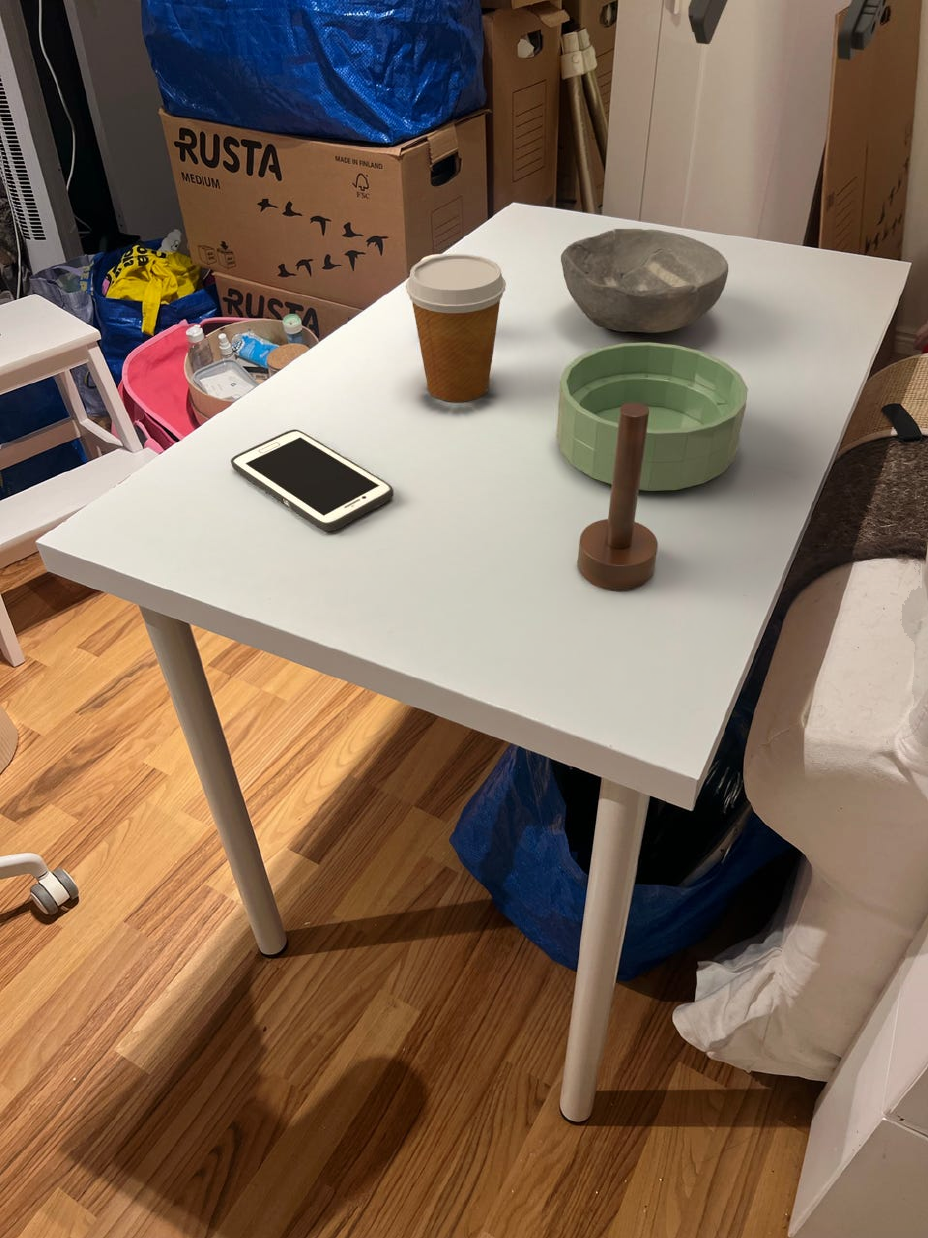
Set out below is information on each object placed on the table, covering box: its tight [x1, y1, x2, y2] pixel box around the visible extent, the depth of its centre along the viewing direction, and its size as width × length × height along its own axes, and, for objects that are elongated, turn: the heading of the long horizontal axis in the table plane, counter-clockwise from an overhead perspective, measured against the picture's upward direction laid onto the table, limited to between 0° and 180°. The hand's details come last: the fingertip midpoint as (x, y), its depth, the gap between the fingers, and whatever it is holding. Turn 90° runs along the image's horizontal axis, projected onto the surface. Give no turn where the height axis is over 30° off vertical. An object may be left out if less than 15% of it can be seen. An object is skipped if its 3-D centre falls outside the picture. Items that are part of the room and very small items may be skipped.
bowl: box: [560, 228, 729, 334], centre depth 101 cm, size 18×18×8 cm
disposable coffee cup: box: [405, 253, 507, 403], centre depth 90 cm, size 10×10×12 cm
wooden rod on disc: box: [577, 402, 659, 592], centre depth 68 cm, size 6×6×14 cm
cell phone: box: [230, 428, 394, 532], centre depth 81 cm, size 8×15×1 cm, turn 44°
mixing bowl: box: [556, 342, 749, 492], centre depth 83 cm, size 16×16×6 cm
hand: (769, 42), depth 53 cm, fingers open, 8 cm apart
